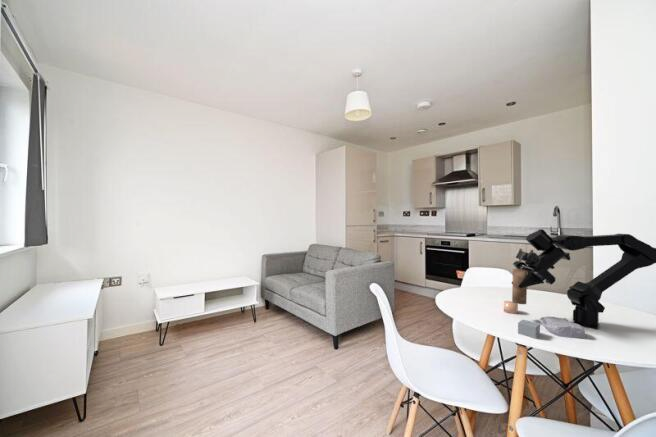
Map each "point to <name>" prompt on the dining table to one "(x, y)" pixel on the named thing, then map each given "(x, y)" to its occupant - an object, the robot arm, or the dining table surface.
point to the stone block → (563, 327)
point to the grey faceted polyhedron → (529, 328)
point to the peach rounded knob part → (510, 307)
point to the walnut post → (518, 293)
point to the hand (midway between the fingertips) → (515, 285)
